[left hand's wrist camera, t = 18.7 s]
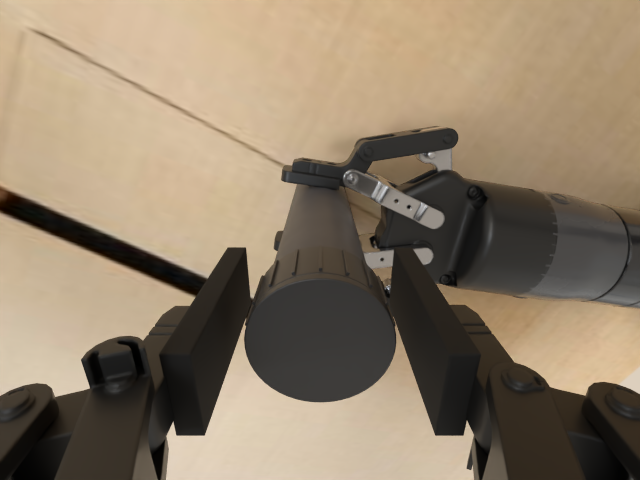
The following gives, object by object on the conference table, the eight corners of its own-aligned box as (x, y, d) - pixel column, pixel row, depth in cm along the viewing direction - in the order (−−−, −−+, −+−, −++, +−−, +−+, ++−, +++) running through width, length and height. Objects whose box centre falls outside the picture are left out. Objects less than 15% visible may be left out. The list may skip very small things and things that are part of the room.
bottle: (311, 221, 30) (299, 397, 12) (287, 182, 29) (231, 312, 11) (352, 199, 30) (404, 350, 11) (329, 157, 28) (345, 253, 10)
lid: (328, 216, 11) (331, 244, 9) (409, 311, 13) (429, 354, 10) (229, 295, 12) (208, 336, 10) (312, 374, 14) (311, 425, 12)
